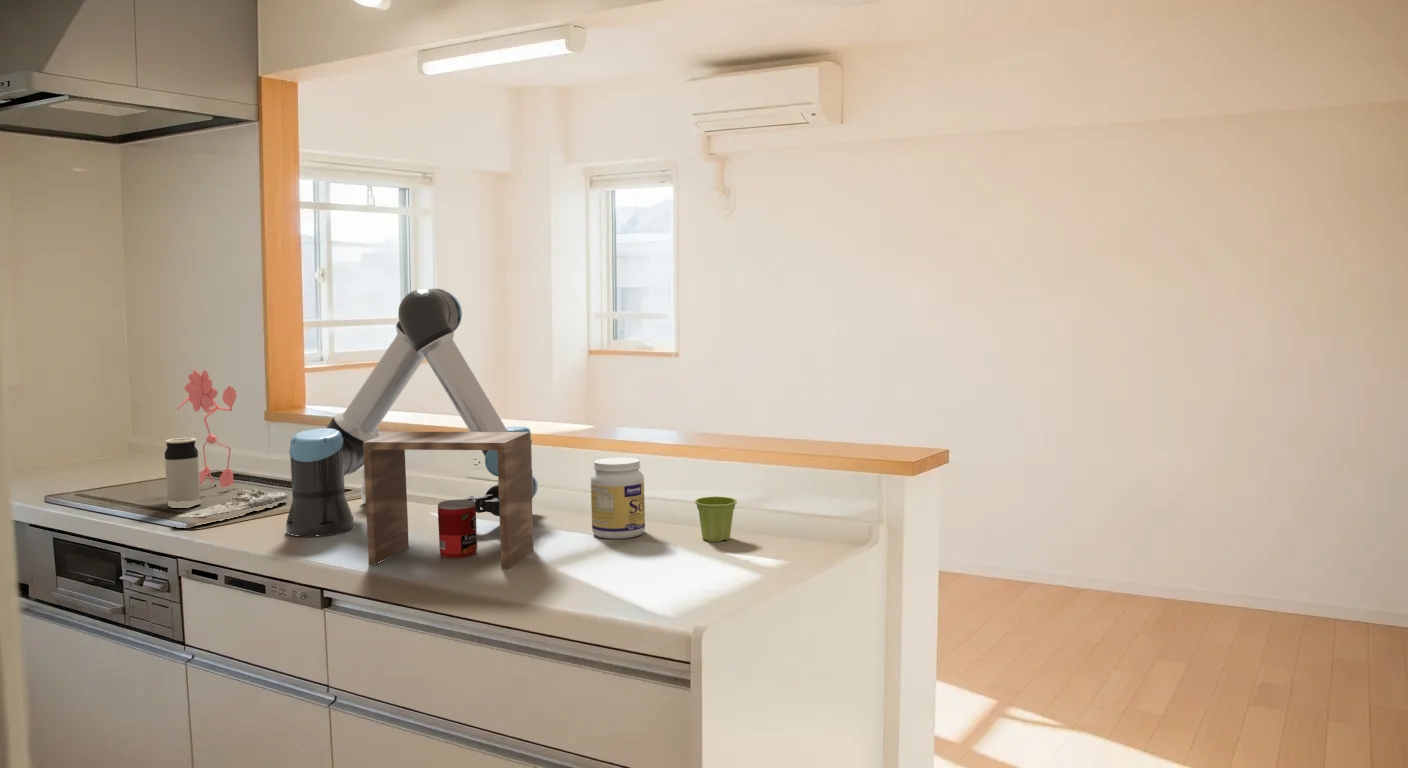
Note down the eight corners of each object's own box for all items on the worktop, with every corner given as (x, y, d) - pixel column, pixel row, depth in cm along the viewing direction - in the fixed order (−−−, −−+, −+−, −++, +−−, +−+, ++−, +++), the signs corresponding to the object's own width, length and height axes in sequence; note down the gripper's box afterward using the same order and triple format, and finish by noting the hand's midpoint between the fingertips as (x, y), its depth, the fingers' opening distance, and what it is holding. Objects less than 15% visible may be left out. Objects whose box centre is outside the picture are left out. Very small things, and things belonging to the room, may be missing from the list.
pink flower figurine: (199, 483, 323) (190, 366, 319) (258, 490, 310) (249, 368, 306) (152, 493, 309) (142, 371, 305) (211, 500, 297) (201, 374, 293)
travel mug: (207, 505, 289) (203, 438, 287) (179, 510, 282) (175, 442, 281) (189, 502, 293) (185, 436, 292) (161, 507, 287) (157, 440, 285)
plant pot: (739, 534, 244) (738, 496, 243) (736, 544, 235) (735, 504, 234) (697, 534, 245) (697, 496, 244) (693, 543, 236) (692, 504, 235)
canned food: (468, 558, 226) (466, 506, 225) (433, 557, 228) (431, 506, 227) (483, 549, 233) (481, 499, 232) (448, 548, 235) (446, 498, 234)
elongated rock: (161, 534, 262) (192, 539, 258) (160, 513, 261) (191, 517, 257) (268, 499, 294) (297, 503, 290) (267, 480, 293) (296, 484, 290)
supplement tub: (633, 541, 239) (631, 466, 237) (582, 538, 243) (580, 464, 241) (653, 529, 250) (651, 457, 249) (605, 526, 254) (603, 455, 253)
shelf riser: (368, 565, 222) (363, 442, 220) (402, 546, 238) (397, 431, 236) (508, 568, 217) (504, 442, 215) (533, 549, 233) (529, 432, 231)
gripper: (555, 514, 256) (528, 534, 235) (455, 512, 260) (419, 532, 239) (554, 482, 255) (527, 500, 235) (454, 482, 259) (417, 499, 238)
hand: (472, 516), depth 237 cm, fingers open, 13 cm apart
